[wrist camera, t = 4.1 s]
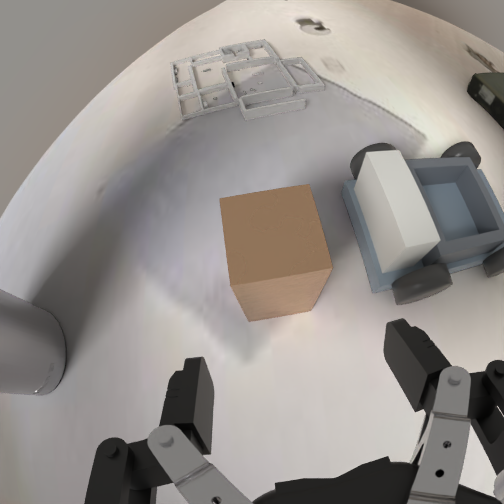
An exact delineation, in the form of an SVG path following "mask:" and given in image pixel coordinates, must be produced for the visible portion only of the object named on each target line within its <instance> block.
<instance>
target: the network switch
mask: <svg viewBox="0 0 504 504" xmlns="http://www.w3.org/2000/svg"><path fill="white" fill-rule="evenodd" d="M467 92H468V93H469V94H470V96H471V97H472V98H473V99H474V100H475V101H477V102H478V103H479V104H480V105H482V106H483V107H484V108H485V109H486V110H487V111H488V112H489V113H490V114H491V115H492V116H493V117H494V119H495V120H496V121H497V122H498V123H499V124H500V125H501V126H502V127H503V128H504V73H499V72H497V73H480V74H476V73H475V74H474V75H473V76H472V80H471V82H470V83H469V85H468V89H467Z"/></svg>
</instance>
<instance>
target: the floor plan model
mask: <svg viewBox="0 0 504 504" xmlns="http://www.w3.org/2000/svg"><path fill="white" fill-rule="evenodd" d="M261 47H263V48H264V50H265V51H266V52H267V53H268V55H269V56H270V57H263V58H257V59H252V58H251V56H250V52H249V50H248V49H252V48H255V49H256V48H261ZM241 50H242V52H241ZM236 51H238V52H237V56H235V55H234V53H233V52H236ZM230 53H231V54H230ZM217 54H220V55H221V56H217V57H212V58H208V59H204V60H200V61H196V62H193V60H196V59H200V58H204V57H208V56H213V55H217ZM246 58H247V60H245V61H240V62H234V63H229V64H226V69H227V72H230V71H237V70H238V71H239V70H240V69H245V68H250V67H255V66H261V65H267V64H273V63H275V65H277V67H278V69H279V70H280V72H281V73H282V75H283V76H284V77H285V79H286V80H287V82H288V83H289V85H290V86H291V87H286V88H280V89H274V90H269V91H263V92H258V93H253V94H249V95H247V93H246V91H243V92H244V94H245V95H244V96H241V98H238V97H237V95H236V94H237V93H235V90H234V87H235V86H234V83H233V82H231V81H230V79H229V77H228V74H227V72H226V70H225V68H221V69H222V74H223V77H224V80H225V83H221V84H217V85H213V86H209V87H205V88H201V89H197V85H196V81H195V77H194V73H193V69H192V66H194V67H197V66H200V65H204V64H208V63H213V62H217V61H221V60H222V61H223V63H226V62H231V61H236V60H241V59H246ZM189 61H190V62H191V65H190V66H188V70H189V74H190V78H191V79H190V80H187V81H183V82H180V83H178V79H177V77H176V80H175V75H177V68H176V67H175V68H174V66H175V65H178V64H182V63H185V62H189ZM293 64H301V65H302V66H303V68H304V69H305V70H306V71H307V73H308V74H309V75H310V76H311V78H312V79H313V80H314V82H315V83H314V84H306V85H299V86H298V85H297V84H296V82H295V81H294V80H293V78H292V77H291V75H290V74H289V73H288V71H287V70H286V68H285V67H284V66H286V65H293ZM206 69H207V68H206ZM210 70H211V69H209V68H208V69H207V70H203V72H206V71H210ZM171 72H172V80H173V87H174V90H177V96H178V102H179V109H180V115H181V119H182V120H186V119H189V118H193V117H196V116H200V115H203V114H207V113H210V112H214V111H218V110H222V109H226V108H230V107H234V106H239V107H240V109H241V112H242V114H243V117H244V119H245V121H247V120H251V119H256V118H260V117H265V116H270V115H275V114H280V113H285V112H290V111H296V110H302V109H305V103H306V100H305V99H299V100H293V101H287V102H282V103H276V104H271V105H266V106H261V107H256V108H252V109H247V110H246V108H245V105H250V104H254V103H259V102H264V101H269V100H275V99H280V98H286V97H292V96H293V91H294V92H296V91H298V92H299V94H302V93H309V92H316V91H324V88H325V85H324V83H323V82H322V81H321V80H320V78H319V77H318V76H317V75H316V73H315V72H314V71H313V70H312V69H311V67H310V66H309V65H308V64H307V63H306V62H305V60H304V59H303V58H302V57H297V58H289V59H282V60H280V58H279V57H278V55H277V54H276V53H275V52H274V50H273V49H272V48H271V46H270V45H269V44H268V43H267V41H266V40H265V39H263V40H257V41H251V42H245V43H240V44H234V45H229V46H225V47H220V48H219V50H216V51H212V52H208V53H204V54H200V55H196V56H192V57H188V58H185V59H181V60H178V61H174V62H171ZM174 72H175V73H174ZM231 73H232V72H231ZM260 74H263V72H260V73H256V74H252V75H253V76H255V75H260ZM191 84H192V85H193V89H194V92H191V93H187V94H184V95H180V96H179V93H178V88H180V87H184V86H187V85H189V86H190V85H191ZM258 84H262V82H258ZM187 87H188V86H187ZM225 89H229V92H230V94H231V97H232V99H233V102H232V103H228V104H222V105H218V106H215V107H211V108H208V105H207V101H206V102H205V101H203V104H204V108H205V109H204V108H203V104H202V100H203V98H202V100H201V95H205V94H209V93H213V92H217V91H221V90H225ZM250 90H251V91H256V89H254V90H253V89H250ZM295 94H296V93H295ZM197 96H198V99H199V103H200V106H201V110H200V111H197V112H193V113H190V114H187V115H183V116H182V111H181V105H180V101H183V100H187V99H190V98H194V97H197ZM216 98H217V97H214V98H213V99H214V100H217V99H216ZM238 100H239V103H238Z"/></svg>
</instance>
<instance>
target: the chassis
mask: <svg viewBox="0 0 504 504" xmlns="http://www.w3.org/2000/svg"><path fill="white" fill-rule="evenodd" d="M480 162H481V157H480V155H479V153H478V152H477V150H476V149H475V147H474V145H473V144H472V143H470V142H460V143H457V144H455V145H453V146H451V147H450V148H448V149H447V150H446V151H445V152H444V153H443V154H442V156H441V158H427V159H409V160H404V158H403V156H402V154H401V153H400V151H399V150H396V148H395V147H394V146H392V145H391V144H387V143H377V144H373V145H370V146H367V147H365V148H364V149H362V150H360V151H359V152H358V153H357V154H356V155H355V156H354V157H353V159H352V161H351V163H350V169H351V171H352V174H353V176H354V178H355V180H348V181H345V183H344V186H343V190H342V196H343V199H344V202H345V205H346V208H347V210H348V213H349V216H350V219H351V222H352V225H353V228H354V232H355V235H356V238H357V241H358V244H359V247H360V251H361V254H362V257H363V261H364V264H365V268H366V271H367V275H368V278H369V282H370V286H371V289H372V293H377V292H381V291H385V290H390V289H392V290H393V293H394V297H395V301H396V304H397V305H403V304H408V303H412V302H415V301H419V300H422V299H424V298H427V297H430V296H432V295H435V294H437V293H439V292H441V291H443V290H445V289H447V288H448V287H450V286H451V285H452V284H453V283H452V279H451V276H450V273H454V272H457V271H461V270H464V269H468V268H471V267H474V266H477V265H481V264H483V265H484V268H485V271H486V274H487V277H488V278H490V277H493V276H496V275H498V274H501V273H503V272H504V213H503V211H502V209H501V207H500V205H499V202H498V200H497V198H496V196H495V194H494V192H493V190H492V188H491V186H490V185H489V183H488V181H487V179H486V177H485V175H484V173H483V172H482V170H481V169H477V167H478V166H479V164H480Z"/></svg>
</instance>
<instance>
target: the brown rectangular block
mask: <svg viewBox="0 0 504 504" xmlns="http://www.w3.org/2000/svg"><path fill="white" fill-rule="evenodd" d="M220 207H221V215H222V223H223V232H224V240H225V248H226V256H227V263H228V271H229V278H230V286H231V288H232V290H233V292H234V294H235V296H236V298H237V300H238V302H239V304H240V306H241V308H242V310H243V312H244V314H245V316H246V318H247V319H248V321H249V322H251V321H258V320H264V319H269V318H275V317H281V316H286V315H292V314H297V313H303V312H308V311H311V310H312V308H313V306H314V304H315V302H316V300H317V298H318V296H319V294H320V293H321V291H322V289H323V287H324V285H325V283H326V281H327V279H328V277H329V275H330V273H331V271H332V269H333V266H332V262H331V258H330V254H329V251H328V247H327V243H326V240H325V236H324V232H323V229H322V225H321V222H320V218H319V215H318V211H317V208H316V205H315V201H314V198H313V195H312V192H311V188H310V185H309V184H306V185H299V186H293V187H286V188H279V189H273V190H267V191H260V192H254V193H248V194H243V195H237V196H231V197H226V198H220Z"/></svg>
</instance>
